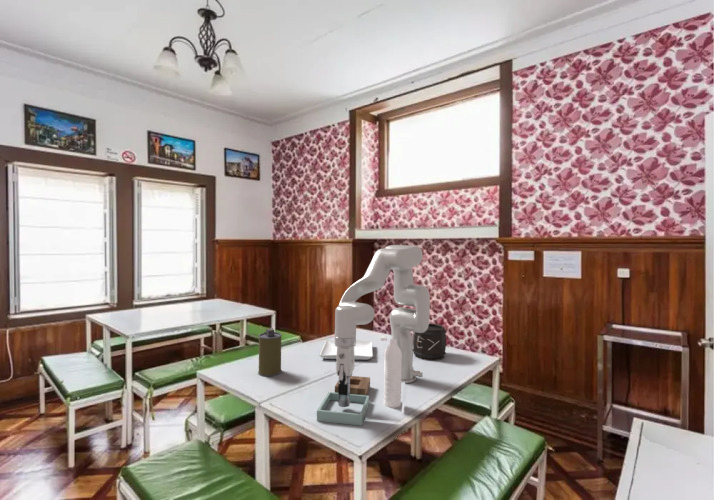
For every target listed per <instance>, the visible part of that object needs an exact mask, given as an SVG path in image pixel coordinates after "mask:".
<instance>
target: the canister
mask: <svg viewBox="0 0 714 500" xmlns="http://www.w3.org/2000/svg"><path fill="white" fill-rule="evenodd" d="M282 336H283V335H282V333H280V332H277V331H276V332H275V329H274V328H273V327H272V328H271V327H270V328H266V329H265V331H263V332H262V333H260V334H258V371H257V374H258V375H259V376H261V377H275V376H278V375H280V374H281V373H282Z"/></svg>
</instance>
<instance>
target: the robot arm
mask: <svg viewBox="0 0 714 500" xmlns="http://www.w3.org/2000/svg"><path fill="white" fill-rule="evenodd" d="M422 261H423V250H422V249H421V248H420V247H419V246H417V245H405V244H404V245H403V244H402V245H401V244H391V245H387V246H386V247H385V248H379V249H378V250H376V251H375V252H374V255H373V257H372V259H371V260H370V263H369V265H368V267H367V269H366V271H365V272H364V275H363V276H362V278H360V279H358V280H357V281H355V282H354V283H353V284H352V285H350V286H349V287H348V288H347V289H346V290H345V291H344V293H343V295H342V297H341V299H340V301H339V304H338V306H337V307H336V308H335V310H334V311H335V312H334V314H335V315H334V340H335V346H336V347H337V359H335V360H336V363H335V367H336V368H335V370H336V371H335V372H336V373H335V374H336V376H338V375H339V376H338V380H339V384H338V394H339V395H347V394H348V383H347V376H350V375H351V374H352V375H353V372H354V370H355V367H356V366H355V364H356V362H355V361H356V360H355V359H354V346H356V340H357V326H361V325H363V326H365V325H368V324H370V323H372V321H373V320H374V318H375V310H374V308H373V306H372V305H370V304H368V303H365V302H364V303H363V302H357V300H358V299H360V298H361V297H362V296H365V295H367V294H369V293H373V292H376V291H377V290H380V289H382V288H383V287H384V285H385V282H386V281H387V278H388V276H389V275H390V274H389V273H390V272H391V271H393V299H394V302H395V303H396V304H397V305H401V306H405V307H396V308H394V309H392V310H391V312H390V314H389V324H390V330H391V331H390V332H391V339H395V340H397V345H398V347H399V348H400V350H401V352H402V359H401V360H402V366H401V367H402V368H401V383H405V384H411V383H414V382H415V381H417V379H416V377H419V378H423V375H424V374H423V372H421V371H420V370H415V369H414V366H413V361H414V357H413V356H414V355H413V354H414V353H413V334H412V333H411V332H413V333H414V332H418V333H423V332H425V331H426V330H427V329H428V326H429V323H430V311H431V310H430V305H431V303H430V302H431V299H430V298H431V297H430V295H431V294H430V292H429V289H428V287H426V286H424V285H421V284H414V272H413V269H412V268H415V267H417V266H419V265H420V264H421V262H422ZM406 306H408V307H414V308H415V309H414V308H406ZM343 373H345V374H346V375H343ZM343 377H345V378H343Z"/></svg>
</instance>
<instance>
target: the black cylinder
mask: <svg viewBox="0 0 714 500" xmlns="http://www.w3.org/2000/svg"><path fill="white" fill-rule="evenodd" d="M412 338H413V354H414V356H415V357H416V358H418V359H420V360H424V359H425V360H427V361H440V360H442V359H444V358H445V356H446V354H447V352H446V350H447V349H446V348H447V331H446V328H445V327H444V325H441V324H437V323H430V322H429V326H428V329H427V330H426V331H425V332H423V333H418V332H413V334H412Z"/></svg>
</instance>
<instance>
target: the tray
mask: <svg viewBox="0 0 714 500" xmlns="http://www.w3.org/2000/svg"><path fill="white" fill-rule="evenodd" d="M330 401H339V394H338V393H335V391H334V392H333V391H332V392H331V391H328V393H327V394H326V396H325V397H324V399H323V401H322V402H321V404H320V405H319V407H318V408H317V410H316V422H327V423H333V424H334V423H335V424H343V425H352V426H360V427H362V426H363V424H364V421H365V415H366V413H367V409H368V407H369V404H370V395H367V396H366V395H355V394H350V403H361V404H363V405H362V408H361V411H360V413H353V412H345V411H337V410H334V411H333V410H328V409H327V410H325V409H326V408H327V406H328V404H329V402H330Z"/></svg>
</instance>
